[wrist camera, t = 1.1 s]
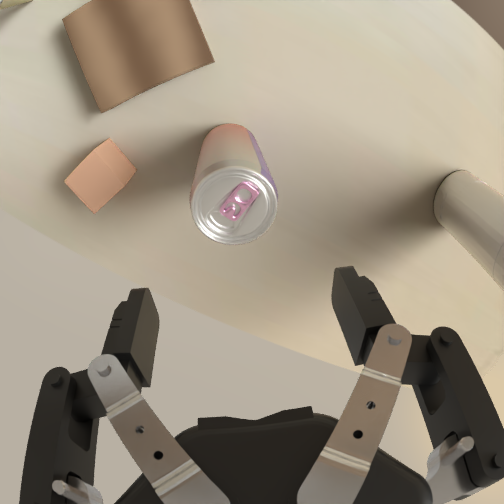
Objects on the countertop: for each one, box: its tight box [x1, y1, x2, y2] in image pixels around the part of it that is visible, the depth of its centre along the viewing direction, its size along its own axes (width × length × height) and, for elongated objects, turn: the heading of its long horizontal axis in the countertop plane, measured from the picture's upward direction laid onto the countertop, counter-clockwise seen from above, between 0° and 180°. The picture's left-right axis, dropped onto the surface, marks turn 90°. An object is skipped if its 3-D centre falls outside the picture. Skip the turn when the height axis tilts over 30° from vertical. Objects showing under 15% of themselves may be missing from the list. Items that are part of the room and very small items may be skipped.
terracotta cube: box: [64, 138, 137, 214], centre depth 30 cm, size 5×5×5 cm
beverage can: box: [190, 124, 278, 245], centre depth 26 cm, size 6×6×15 cm
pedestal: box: [62, 0, 215, 113], centre depth 23 cm, size 12×12×3 cm
